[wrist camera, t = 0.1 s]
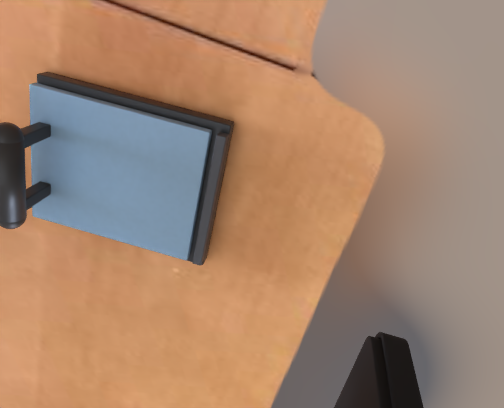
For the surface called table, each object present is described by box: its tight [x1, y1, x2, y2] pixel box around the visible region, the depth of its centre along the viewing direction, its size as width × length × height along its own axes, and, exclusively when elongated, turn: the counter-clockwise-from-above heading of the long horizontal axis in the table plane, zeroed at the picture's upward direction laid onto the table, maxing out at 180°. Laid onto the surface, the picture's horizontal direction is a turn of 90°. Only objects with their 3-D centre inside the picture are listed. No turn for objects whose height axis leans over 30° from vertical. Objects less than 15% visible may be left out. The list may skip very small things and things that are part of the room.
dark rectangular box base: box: [37, 72, 234, 265], centre depth 26 cm, size 12×10×2 cm
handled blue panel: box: [0, 83, 212, 260], centre depth 24 cm, size 11×9×5 cm
